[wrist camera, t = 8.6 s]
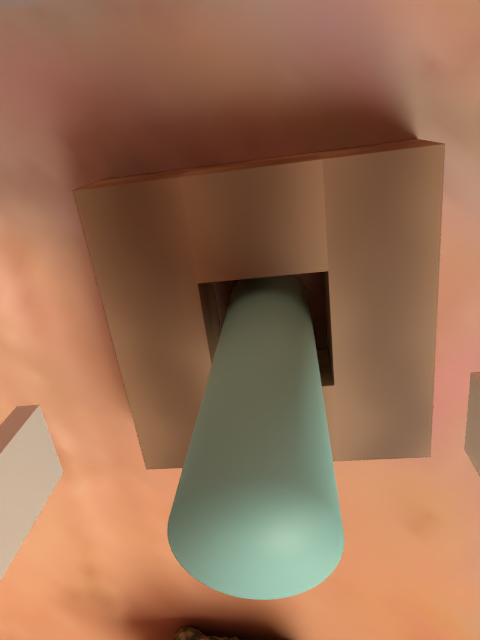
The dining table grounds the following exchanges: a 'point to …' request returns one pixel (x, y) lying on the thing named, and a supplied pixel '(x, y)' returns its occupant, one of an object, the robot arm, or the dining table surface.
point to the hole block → (276, 260)
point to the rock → (197, 635)
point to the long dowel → (260, 455)
